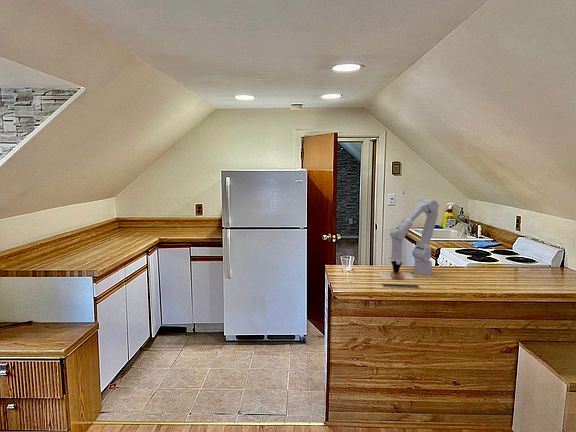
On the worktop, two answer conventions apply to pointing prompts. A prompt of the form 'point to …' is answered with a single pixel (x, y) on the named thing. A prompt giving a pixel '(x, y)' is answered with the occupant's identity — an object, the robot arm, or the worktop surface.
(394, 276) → the block
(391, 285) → the mat
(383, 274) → the board
